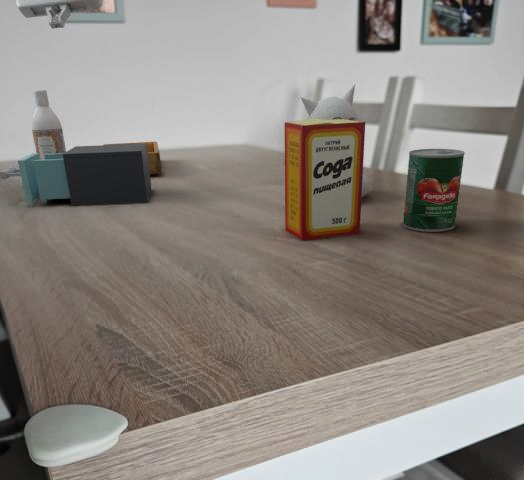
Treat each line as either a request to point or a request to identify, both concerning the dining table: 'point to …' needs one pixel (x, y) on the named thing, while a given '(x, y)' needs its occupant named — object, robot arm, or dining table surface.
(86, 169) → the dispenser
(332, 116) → the decorative figurine
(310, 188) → the baking soda box
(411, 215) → the canned tomato
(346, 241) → the dining table surface
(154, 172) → the tray
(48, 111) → the bath foam
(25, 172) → the drawer
